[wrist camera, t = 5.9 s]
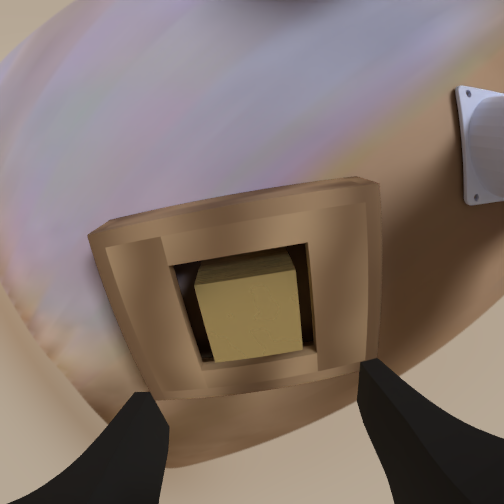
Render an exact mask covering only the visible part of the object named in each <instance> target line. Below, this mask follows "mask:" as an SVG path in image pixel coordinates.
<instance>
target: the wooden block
mask: <svg viewBox="0 0 504 504" xmlns="http://www.w3.org/2000/svg"><path fill="white" fill-rule="evenodd" d="M194 287H195V291H196V295H197V299H198V303H199V306H200V310H201V314H202V318H203V321H204V325H205V328H206V332H207V336H208V339H209V343H210V346H211V349H212V353H213V356H214V360H215V363H217V362H225V361H234V360H241V359H249V358H256V357H263V356H269V355H275V354H282V353H287V352H293V351H299V350H303V345H302V333H301V321H300V310H299V299H298V289H297V279H296V270H295V267H294V265H293V263H292V261H291V258H290V256H289V254H288V252H287V250H286V247H285V246H283V247H277V248H271V249H265V250H259V251H253V252H248V253H242V254H236V255H230V256H224V257H218V258H212V259H206V260H202V261H201V264H200V267H199V271H198V274H197V277H196V281H195V284H194Z"/></svg>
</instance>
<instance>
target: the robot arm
mask: <svg viewBox="0 0 504 504" xmlns="http://www.w3.org/2000/svg"><path fill="white" fill-rule="evenodd" d="M466 92H467V94H468V96H467V94H466ZM455 93H456V100H457V106H458V113H459V121H460V130H461V140H462V153H463V172H464V201H465V203H466V204H468V205H478V204H485V203H492V202H499V201H504V94H503V93H498V92H494V91H489V90H484V89H479V88H473V87H468V86H457V87H456V89H455ZM474 196H475V199H474ZM357 403H358V406H359V409H360V413H361V416H362V419H363V423H364V426H365V428H366V430H367V433H368V435H369V437H370V439H371V441H372V444H373V446H374V448H375V450H376V453H377V455H378V457H379V459H380V462H381V464H382V466H383V469H384V471H385V474H386V476H387V479H388V482H389V485H390V489H391V492H392V496H393V500H394V504H504V439H503V438H500V437H497V436H495V435H492V434H489V433H487V432H484V431H482V430H479V429H477V428H475V427H473V426H471V425H468V424H467V423H464V422H463V421H461V420H459V419H457V418H455V417H453V416H452V415H450V414H449V413H447V412H446V411H444V410H442V409H441V408H439V407H438V406H436V405H435V404H433V403H432V402H430V401H429V400H428V399H427V398H425V397H424V396H422V395H421V394H420V393H419V392H417V391H416V390H415V389H413V388H412V387H411V386H410V385H408V384H407V383H406V382H405V381H403V380H402V379H401V378H400V377H399V376H398V375H396V374H395V373H394V372H393V371H392V370H391V369H389V368H388V367H387V366H386V365H385V364H384V363H383V362H382V361H380V360H379V359H378V358H374V359H371V360H367V361H363V362H360V372H359V384H358V395H357ZM168 445H169V425H168V423H167V422H166V420H165V418H164V416H163V415H162V413H161V411H160V409H159V407H158V406H157V404H156V402H155V400H154V398H153V396H152V395H151V393H150V392H135V393H134V394H133V395H132V396H131V398H130V399H129V400H128V401H127V402H126V404H125V405H124V406H123V407H122V409H121V410H120V411H119V412H118V414H117V415H116V416H115V417H114V419H113V420H112V421H111V422H110V423H109V425H108V426H107V427H106V428H105V430H104V431H103V432H102V433H101V434H100V436H99V437H98V438H97V439H96V440H95V441H94V442H93V443H92V444H91V445H90V446H89V447H88V448H87V450H86V451H85V452H84V453H83V454H82V455H81V456H80V457H79V458H78V459H77V460H76V461H74V462H73V463H72V464H71V465H70V466H69V467H67V468H66V469H65V470H64V471H63V472H61V473H60V474H59V475H57V476H56V477H55V478H53V479H52V480H50V481H49V482H48V483H46V484H45V485H43V486H42V487H40V488H38V489H37V490H35V491H34V492H32V493H30V494H28V495H26V496H24V497H22V498H20V499H18V500H15V501H13V502H10V503H8V504H159V497H160V491H161V486H162V481H163V476H164V470H165V465H166V460H167V454H168Z"/></svg>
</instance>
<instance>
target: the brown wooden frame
mask: <svg viewBox="0 0 504 504" xmlns="http://www.w3.org/2000/svg"><path fill="white" fill-rule="evenodd" d="M87 236H88V240H89V243H90V246H91V249H92V253H93V256H94V259H95V262H96V265H97V268H98V271H99V274H100V277H101V280H102V283H103V285H104V288H105V291H106V294H107V296H108V299H109V302H110V304H111V307H112V309H113V312H114V314H115V317H116V319H117V322H118V324H119V327H120V329H121V331H122V334H123V336H124V338H125V341H126V343H127V345H128V348H129V350H130V352H131V354H132V356H133V358H134V361H135V363H136V365H137V367H138V369H139V371H140V373H141V375H142V377H143V379H144V381H145V383H146V385H147V387H148V389H149V391H150V393H151V395H152V396H153V398H154V400H178V399H194V398H206V397H217V396H227V395H235V394H243V393H251V392H258V391H265V390H271V389H277V388H283V387H289V386H294V385H300V384H305V383H310V382H315V381H319V380H324V379H328V378H333V377H337V376H341V375H345V374H349V373H353V372H357V371H360V362H363V361H367V360H371V359H374V358H377V354H378V343H379V331H380V316H381V296H382V220H381V200H380V185H379V183H376V182H373V181H370V180H366V179H363V178H360V177H356V176H355V177H347V178H338V179H331V180H323V181H315V182H308V183H301V184H294V185H287V186H281V187H274V188H268V189H262V190H255V191H250V192H244V193H238V194H232V195H227V196H221V197H216V198H210V199H205V200H200V201H195V202H190V203H185V204H180V205H175V206H170V207H165V208H161V209H156V210H151V211H147V212H142V213H138V214H133V215H129V216H125V217H121V218H116V219H112V220H109V221H108V222H106V223H105V224H103V225H102V226H100V227H99V228H97V229H96V230H94V231H93V232H91V233H90V234H88V235H87ZM301 243H305V248H306V257H307V267H308V277H309V288H310V300H311V312H312V324H313V338H314V341H310V342H305V343H302V345H303V350H299V351H293V352H287V353H282V354H275V355H269V356H263V357H256V358H249V359H241V360H234V361H225V362H217V363H215V360H214V357H210V358H201V355H200V352H199V349H198V346H197V343H196V340H195V337H194V334H193V331H192V328H191V324H190V321H189V318H188V315H187V311H186V308H185V305H184V301H183V298H182V295H181V291H180V288H179V284H178V281H177V277H176V273H175V270H174V266H173V265H177V264H183V263H189V262H195V261H200V260H206V259H212V258H218V257H224V256H230V255H236V254H242V253H248V252H253V251H259V250H265V249H271V248H277V247H283V246H289V245H295V244H301Z"/></svg>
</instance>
